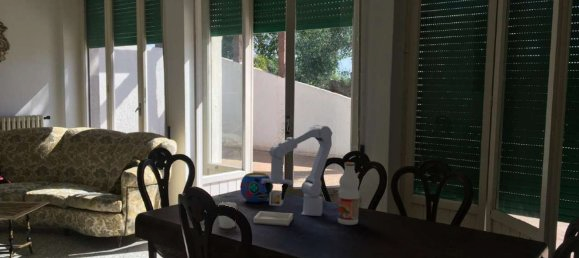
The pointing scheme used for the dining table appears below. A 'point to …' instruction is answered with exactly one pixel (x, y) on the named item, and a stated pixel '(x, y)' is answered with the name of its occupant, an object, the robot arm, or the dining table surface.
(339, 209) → the fruit juice
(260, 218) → the tray
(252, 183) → the ceramic pot
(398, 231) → the dining table surface
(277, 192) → the silver open box
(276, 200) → the ball
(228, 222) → the white cup
